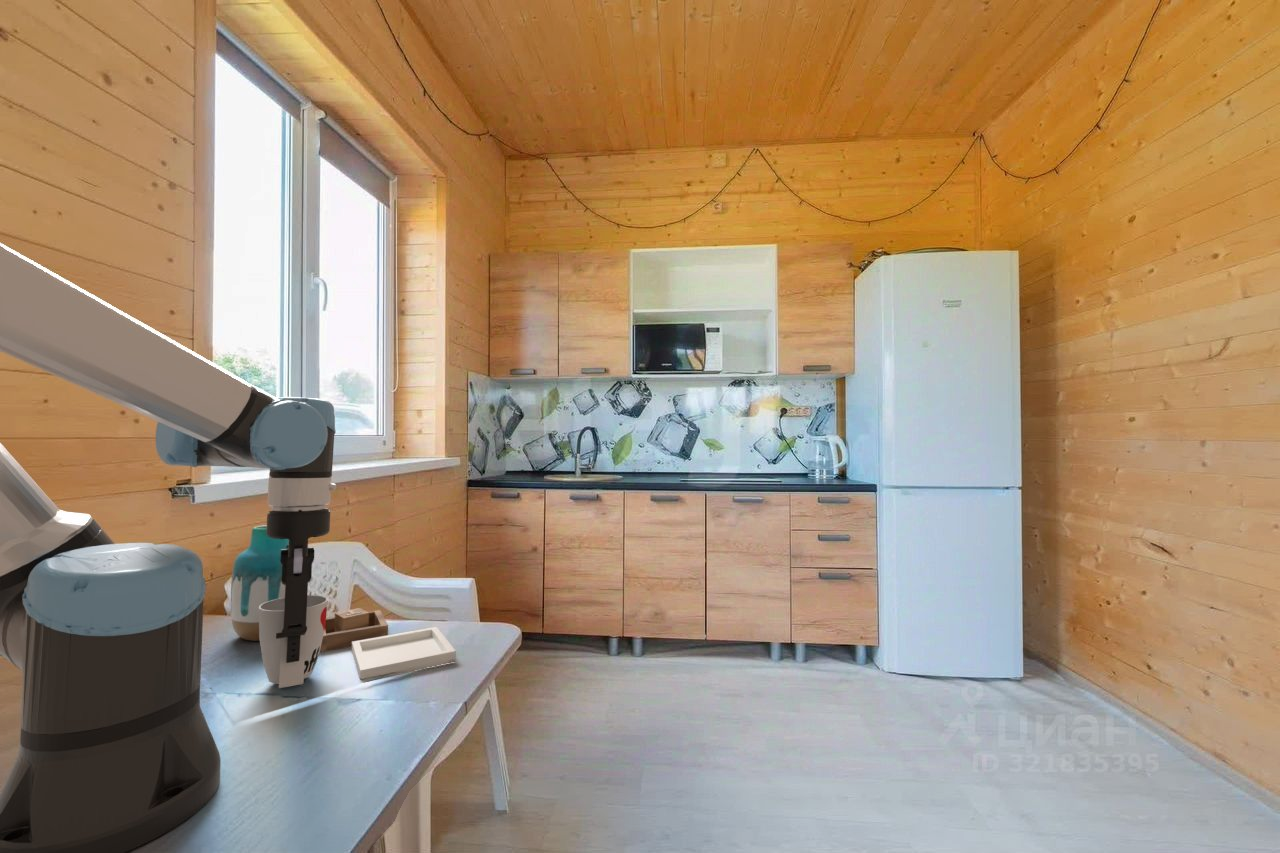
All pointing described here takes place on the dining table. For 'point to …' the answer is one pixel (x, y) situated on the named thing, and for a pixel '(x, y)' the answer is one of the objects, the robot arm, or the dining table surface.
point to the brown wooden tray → (353, 632)
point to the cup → (274, 623)
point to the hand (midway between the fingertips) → (291, 673)
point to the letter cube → (351, 619)
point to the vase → (256, 581)
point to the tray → (401, 653)
